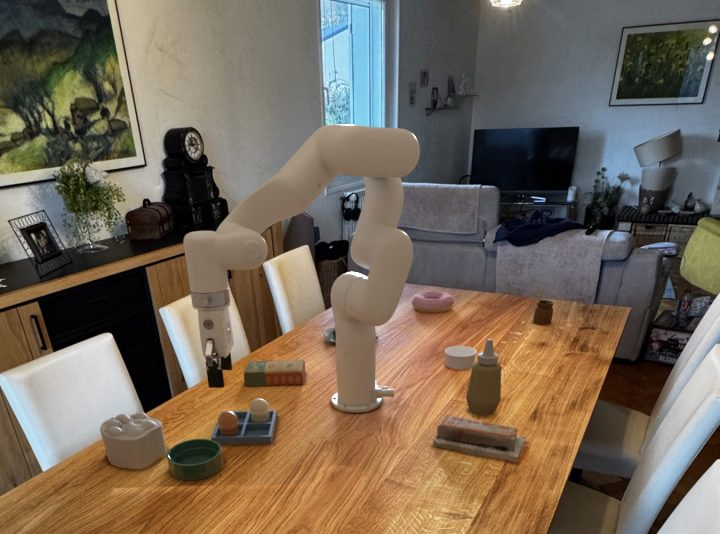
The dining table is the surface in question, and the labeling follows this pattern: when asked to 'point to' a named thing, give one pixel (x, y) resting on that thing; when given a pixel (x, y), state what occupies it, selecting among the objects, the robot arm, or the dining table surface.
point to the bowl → (195, 459)
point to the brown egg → (228, 423)
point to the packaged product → (479, 438)
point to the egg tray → (248, 430)
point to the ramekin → (460, 357)
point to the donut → (432, 301)
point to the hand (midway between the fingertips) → (221, 378)
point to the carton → (274, 372)
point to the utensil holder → (543, 311)
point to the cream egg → (259, 410)
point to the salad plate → (333, 336)
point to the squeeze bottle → (485, 382)
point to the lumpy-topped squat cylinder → (133, 440)
